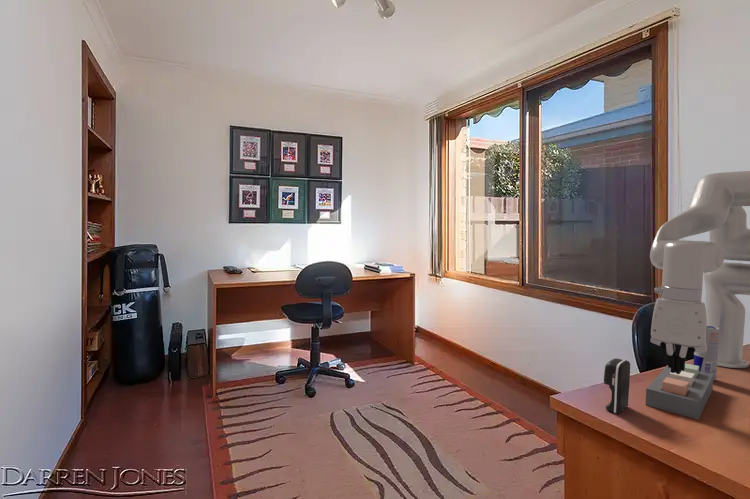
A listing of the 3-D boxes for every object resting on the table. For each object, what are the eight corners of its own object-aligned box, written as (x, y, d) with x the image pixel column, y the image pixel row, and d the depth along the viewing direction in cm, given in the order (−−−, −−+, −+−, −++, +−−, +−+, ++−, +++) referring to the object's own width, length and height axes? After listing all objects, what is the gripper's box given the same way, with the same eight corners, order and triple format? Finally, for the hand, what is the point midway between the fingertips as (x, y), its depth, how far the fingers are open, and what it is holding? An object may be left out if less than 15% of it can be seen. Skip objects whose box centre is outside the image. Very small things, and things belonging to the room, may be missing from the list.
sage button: (678, 373, 111) (678, 361, 110) (698, 377, 107) (699, 366, 107) (674, 377, 108) (675, 365, 107) (695, 382, 104) (696, 370, 104)
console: (666, 378, 114) (667, 365, 114) (712, 389, 107) (713, 374, 107) (645, 404, 97) (646, 388, 97) (698, 419, 90) (699, 401, 90)
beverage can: (707, 376, 117) (710, 324, 116) (720, 383, 112) (724, 329, 111) (688, 375, 117) (691, 323, 116) (700, 382, 112) (704, 328, 111)
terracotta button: (665, 389, 99) (666, 377, 99) (688, 395, 96) (689, 382, 96) (661, 394, 96) (662, 381, 96) (685, 400, 93) (685, 387, 93)
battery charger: (611, 401, 99) (613, 355, 98) (628, 406, 96) (631, 359, 95) (600, 409, 94) (602, 361, 94) (618, 415, 92) (621, 366, 91)
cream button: (672, 381, 105) (673, 369, 105) (693, 386, 102) (694, 373, 102) (668, 385, 102) (669, 373, 102) (690, 391, 99) (691, 378, 99)
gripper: (639, 292, 97) (635, 367, 98) (721, 301, 87) (715, 385, 88) (647, 289, 103) (642, 360, 104) (724, 297, 92) (719, 377, 93)
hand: (676, 372), depth 96 cm, fingers closed
